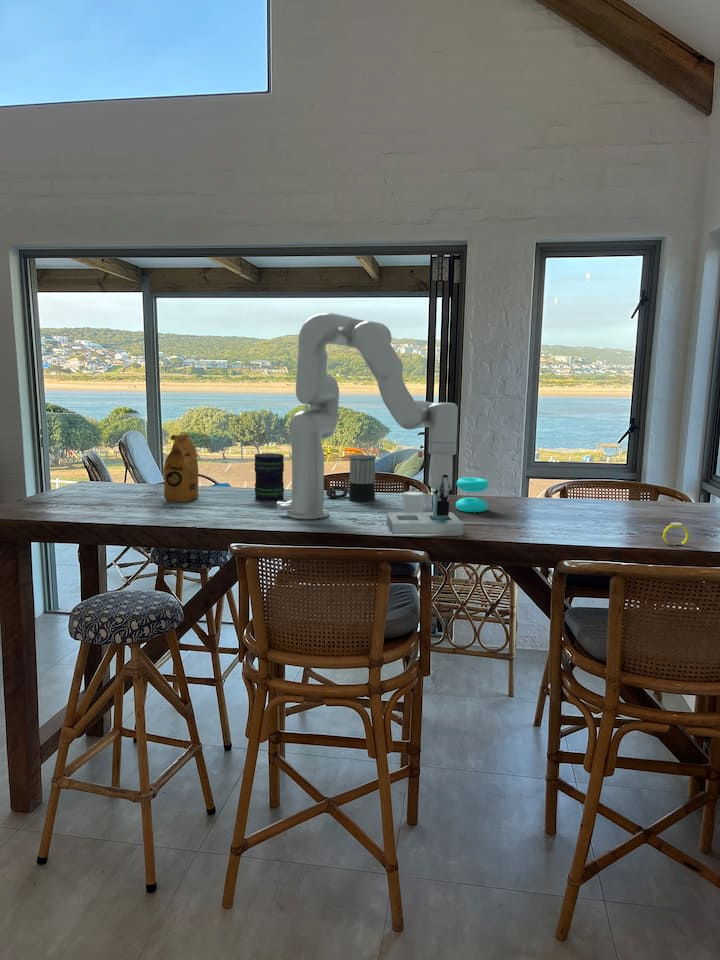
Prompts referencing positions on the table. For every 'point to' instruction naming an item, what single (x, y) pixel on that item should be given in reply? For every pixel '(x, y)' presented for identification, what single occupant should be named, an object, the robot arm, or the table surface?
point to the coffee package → (181, 471)
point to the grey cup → (413, 501)
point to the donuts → (472, 486)
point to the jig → (422, 523)
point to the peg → (435, 516)
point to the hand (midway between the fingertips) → (440, 512)
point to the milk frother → (358, 480)
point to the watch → (675, 526)
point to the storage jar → (269, 477)
